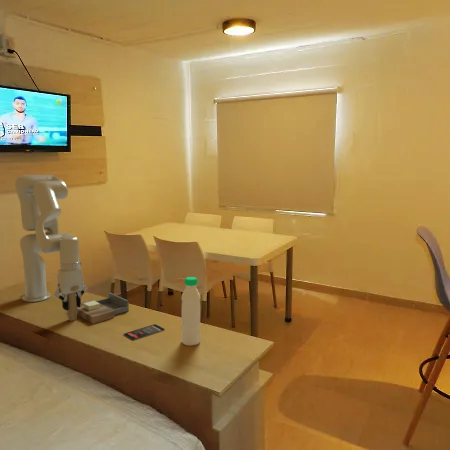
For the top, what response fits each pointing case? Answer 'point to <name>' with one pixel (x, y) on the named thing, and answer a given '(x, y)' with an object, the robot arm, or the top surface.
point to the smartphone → (143, 332)
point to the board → (95, 313)
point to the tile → (91, 305)
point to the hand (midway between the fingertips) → (71, 307)
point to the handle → (72, 304)
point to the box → (115, 304)
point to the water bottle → (190, 313)
